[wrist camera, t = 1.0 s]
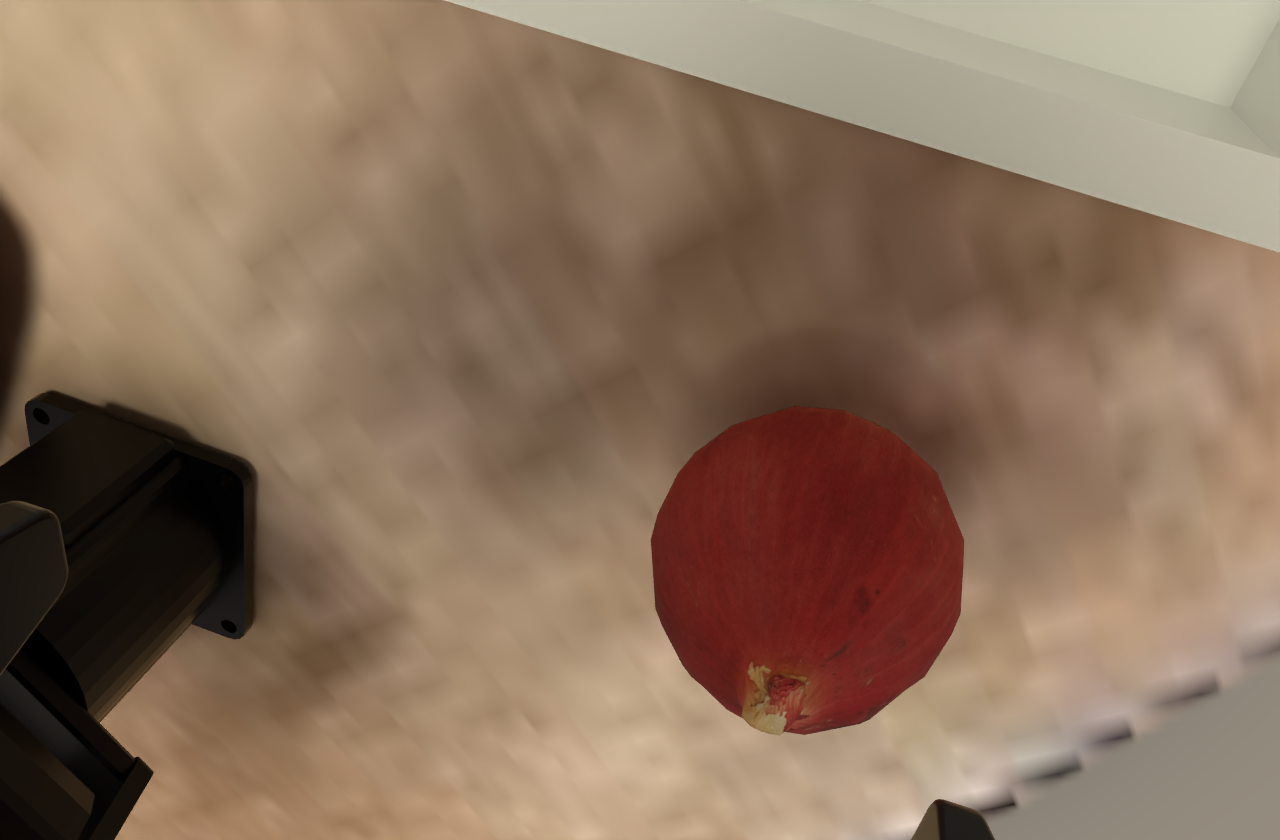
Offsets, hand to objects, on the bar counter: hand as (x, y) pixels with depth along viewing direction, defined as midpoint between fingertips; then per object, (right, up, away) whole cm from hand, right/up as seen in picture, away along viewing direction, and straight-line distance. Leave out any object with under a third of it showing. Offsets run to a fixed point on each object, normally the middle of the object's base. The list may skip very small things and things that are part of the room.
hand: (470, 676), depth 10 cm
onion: (+6, +2, +12) cm, 14 cm away
